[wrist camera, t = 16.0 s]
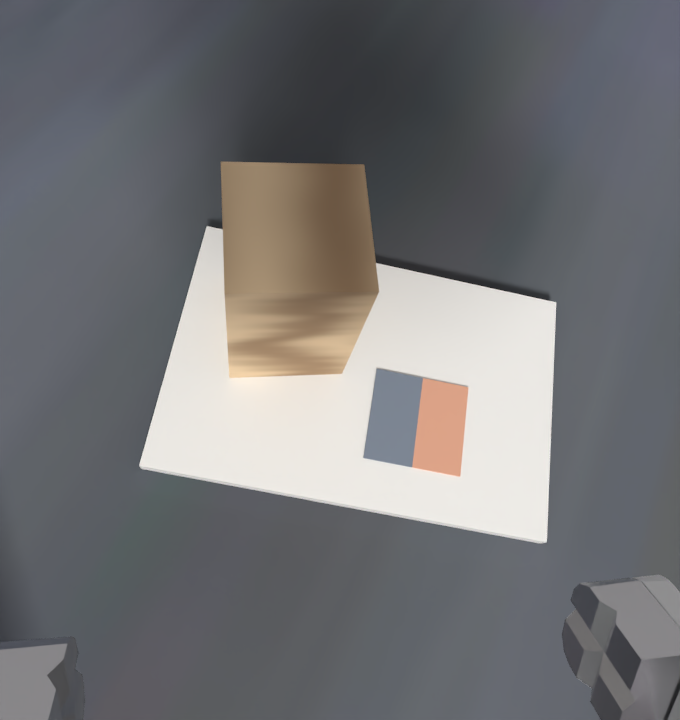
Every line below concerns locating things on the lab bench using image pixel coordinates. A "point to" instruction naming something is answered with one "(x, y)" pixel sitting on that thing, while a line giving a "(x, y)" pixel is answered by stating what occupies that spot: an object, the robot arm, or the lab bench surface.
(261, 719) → the lab bench surface
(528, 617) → the lab bench surface
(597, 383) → the lab bench surface
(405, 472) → the plate
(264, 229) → the oak block
